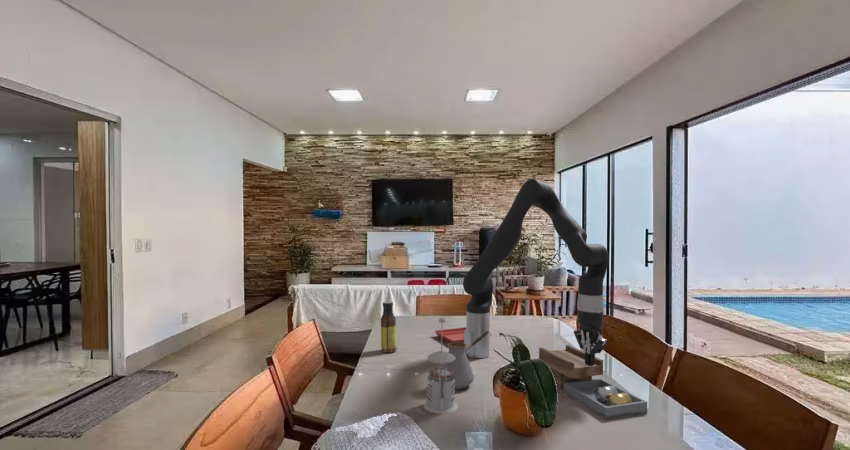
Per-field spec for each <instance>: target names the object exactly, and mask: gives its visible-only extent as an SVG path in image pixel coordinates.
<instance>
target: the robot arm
mask: <svg viewBox="0 0 850 450" xmlns="http://www.w3.org/2000/svg"><path fill="white" fill-rule="evenodd" d="M531 207H535V208H539V209H541V210H542V211H543V212H545V214H547V215H548V217H549V218H550V220H551V222H552V225H553V228H554V231H556V233H557V235H558V236H559V237H560V238H561V240H562V241H563V242H564V243H565V244H566V246H567V250H568V251H569V253H570V255H571V259H572V260H573V261H574V262H575V264H577V265H578V266H580V267H582V268H587V270H586V272H585V273H584V274H582V275H579V277H578V293H577V294H578V296H577V307H576V308H577V310H576V311H577V312H576V313H577V314H576V315H577V316H576V317H577V318H576V320H577V321H576V322H577V324H578V325H579V326H578V329H576V330H575V329H574V330H573V334H574V336H575V339H576V342H577V344H578V346H579V349H582V351H583V352H585V364H586V365H588V366H594V364H595V357H596V354H600V353H602V351H603V350H604V349H605V347H607V345H608V342H609V340H608V339H607V338H604V337H603V336H602V335H603V331H602V327H603V326H604V316H605V315H604V312H605V311H604V310H605V309H604V308H605V307H604V305H605V301H604V279H605V277H606V273H607V268H608V266H609V261H610V256H609V251H608V249H607V248H606V247H605V246H604V244H603V245H602V244H600V243H587V242H586V241H587V239H588V234H587V232H586V231H585V229H584V228H583V227H582V226H581V225H580V224H579V223H578V222H577V221H576V219H574V217H573V216H572V214H570V213H569V212H568V211H567V209H566V208H565V206H564V205H563V203H562V202H561V200H560V199H559V197H558V195H557V193H556V192H555V190H554V188H553V187H552V186H551V185H550V184H548V183H546V182H544V181H541V180H539V179H536V178H529V179H528V180H526V181H525V182H524V183H523V184H522V186H521V187H520V189H519V190H518V192H517V194H516V196H515V198H514V201H513V202H512V204H511V206H510V208H509V209H508V211H507V212H506V213H507V214H506V215H505V216H504V219H502V222H501V223H500V224H499V227H497V229H496V231H494V234H493V235H492V237H491V238H490V240H489V242H488V244H487V245H486V246H485V248H484V249H483V252H482V253H481V254H480V256H479V258H478V259H477V260H476V261H475V263H474V265H472V267H471V268H470V269H469V271H468V272H467V273H466V274H465V276H464V278H463V281H462V286H463V289H464V292H465V293H466V294H467V295H469V296H471V297H470V300H469V301H468V302H467V304H466V308H465V309H466V316H465V319H466V322H465V323H466V325H465V327H466V329H465V330H464V343H465V344H466V345H467V347H468V346H470V345H471V344H472V343H473V342H474V341H475V340H476V339H477V338H478V337H480V336H481V335H482V334H483V333H485V332H486V331H488V334H487V335H488V336H487V335H485V337H483V338H482V339H481V340H480V341H479V342H478V343H476V344H475V345H474V346H472V347H471V348H470V349H469V350H468V351H467V352H465V354H466V356H467V358H468V357H469V359H470V358H475V359H484V358H488V357H489V356H490V333H491V332H490V331H491V330H490V328H491V327H490V326H491V325H490V321H491V320H490V318H491V312H490V311H491V307H492V303H493V293H494V292H493V291H494V290H493V289H494V287H493V286H494V284H493V283H494V282H493V277H492V276H491V274H492V273H493V272H494V270H495V269H496V268H497V267H498V266H499V265H501V264H502V263H503V262H504V261H505V260H506V259H507V258H508V257H509V256H510V255H511V254H512V253H513V252H514V250H515V248H516V247H517V245H518V244H519V242H520V241H521V236H522V233H523V232H522V231H523V223H524V219H525V216H526V215H527V213H528V212H529V210H530V208H531ZM489 332H490V333H489ZM467 347H466V348H467ZM466 348H465V349H466Z"/></svg>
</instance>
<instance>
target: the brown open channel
mask: <svg viewBox="0 0 850 450" xmlns="http://www.w3.org/2000/svg"><path fill="white" fill-rule="evenodd" d="M538 353H539V354H538V360H539V359H541V360H543V361H544V362H545V363H546V364H547V365H548V366H549V367H550V369H551V371H552V373H553V375H554V378H555V381H556V384H557V386H556V387H557V388H559V389H560V388H561V389H564V383H568V382H576V381H584V380H592V379H593V377H596V376H603V375H604V359H601V358H599V357H597V356H595V364H594V366H588V365H586V364H585V352H584V350H580V348H579V349H578V348H577V347H573V346H572V345H569V344H567V345H565V349H558V350H548V349H546V348H544V347H539V348H538Z"/></svg>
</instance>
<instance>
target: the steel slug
mask: <svg viewBox="0 0 850 450" xmlns="http://www.w3.org/2000/svg"><path fill="white" fill-rule="evenodd" d="M594 394H595V397H596V399H597V400H598V401H599V402H607V396H608V395H611V394H618V391H617V389H616V388H615V387H614V386H605V387H598V388H596V389H595V391H594Z"/></svg>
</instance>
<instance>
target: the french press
mask: <svg viewBox="0 0 850 450" xmlns="http://www.w3.org/2000/svg"><path fill="white" fill-rule="evenodd" d="M438 323H441V328H440V330H441V338H440V341H441V342H440V343H441V344H440V345H441V347H440V349H441V350H439V351H435V352H432V353H430V354H429V355H427V357H426V358H427V361H428V362H430V363H432V364H438V365H439V364H440V367H433V368H431V369H429V370H428V375H427V377H426V378H427V379H426V382H427V383H426V386H427V387H428V388H426V391H427V392H426V395H427V396H426V401H425V402H424V403H423V408H424V409H425V410H426V411H427V412H429V413H432V414H439V415H445V414H450V413H454V412H456V411H457V410H458V408H459V405H458V404H457V402H455V399H456V398H455V397H456V396H455V395H456V393H455V392H456V389H455V388H454V387H455V384H454V382H455V377H454V376H453V374H454V372H453V371H452V370H451V369H447V368H442V366H443V364H447V363H451V362H453V361H454V360H455V359H456V358H455V356H453V355H452V354H450V353H448V352H447V351H443V339H442V330H443V323H446V319H445V318H444V317H441V318H439V319H438ZM447 380H448V381H450V382H447ZM451 387H452V388H451Z"/></svg>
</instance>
